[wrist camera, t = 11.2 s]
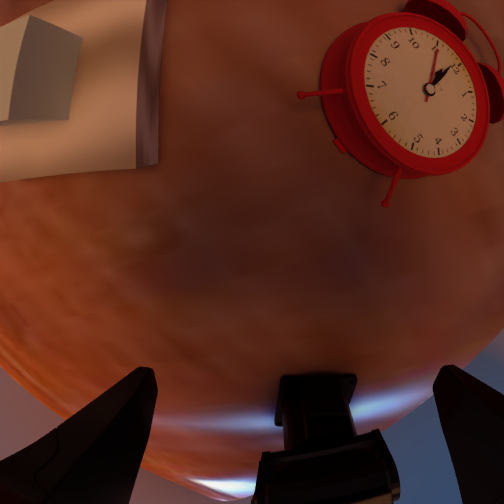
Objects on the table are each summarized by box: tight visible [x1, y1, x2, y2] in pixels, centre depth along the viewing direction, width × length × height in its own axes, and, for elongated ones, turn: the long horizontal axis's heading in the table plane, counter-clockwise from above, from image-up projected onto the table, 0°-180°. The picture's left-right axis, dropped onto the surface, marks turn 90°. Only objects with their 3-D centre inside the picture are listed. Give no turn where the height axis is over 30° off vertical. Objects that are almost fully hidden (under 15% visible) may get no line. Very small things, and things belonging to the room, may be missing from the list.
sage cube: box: [0, 15, 83, 126], centre depth 10 cm, size 5×5×5 cm
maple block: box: [0, 0, 167, 183], centre depth 14 cm, size 12×12×4 cm
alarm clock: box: [297, 0, 504, 208], centre depth 13 cm, size 11×6×15 cm
